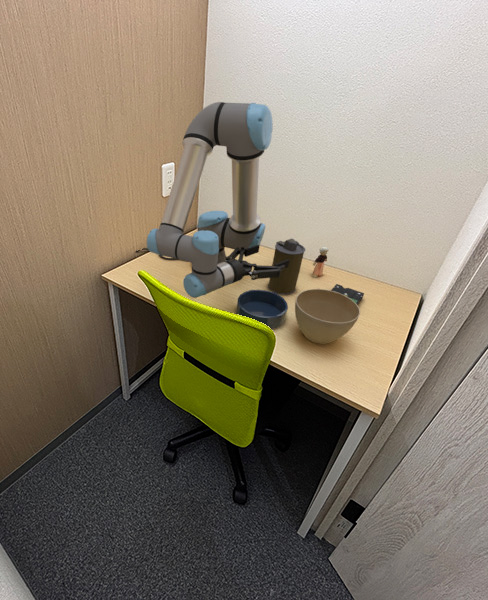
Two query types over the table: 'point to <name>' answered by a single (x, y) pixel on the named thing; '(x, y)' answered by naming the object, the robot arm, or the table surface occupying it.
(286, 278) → the canister
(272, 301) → the bowl
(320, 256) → the grandmother figurine
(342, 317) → the tan rounded vessel
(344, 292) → the disk drive
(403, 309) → the table surface
